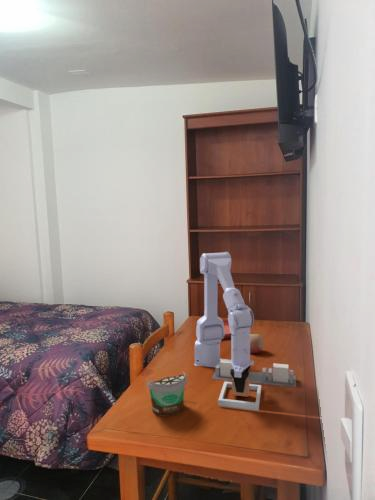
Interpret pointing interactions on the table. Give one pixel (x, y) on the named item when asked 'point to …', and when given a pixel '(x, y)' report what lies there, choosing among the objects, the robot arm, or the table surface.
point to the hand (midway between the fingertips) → (240, 389)
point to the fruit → (256, 343)
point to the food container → (167, 395)
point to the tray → (239, 404)
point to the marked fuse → (246, 389)
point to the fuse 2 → (280, 372)
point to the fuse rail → (260, 377)
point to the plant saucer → (226, 329)
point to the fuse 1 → (225, 367)
